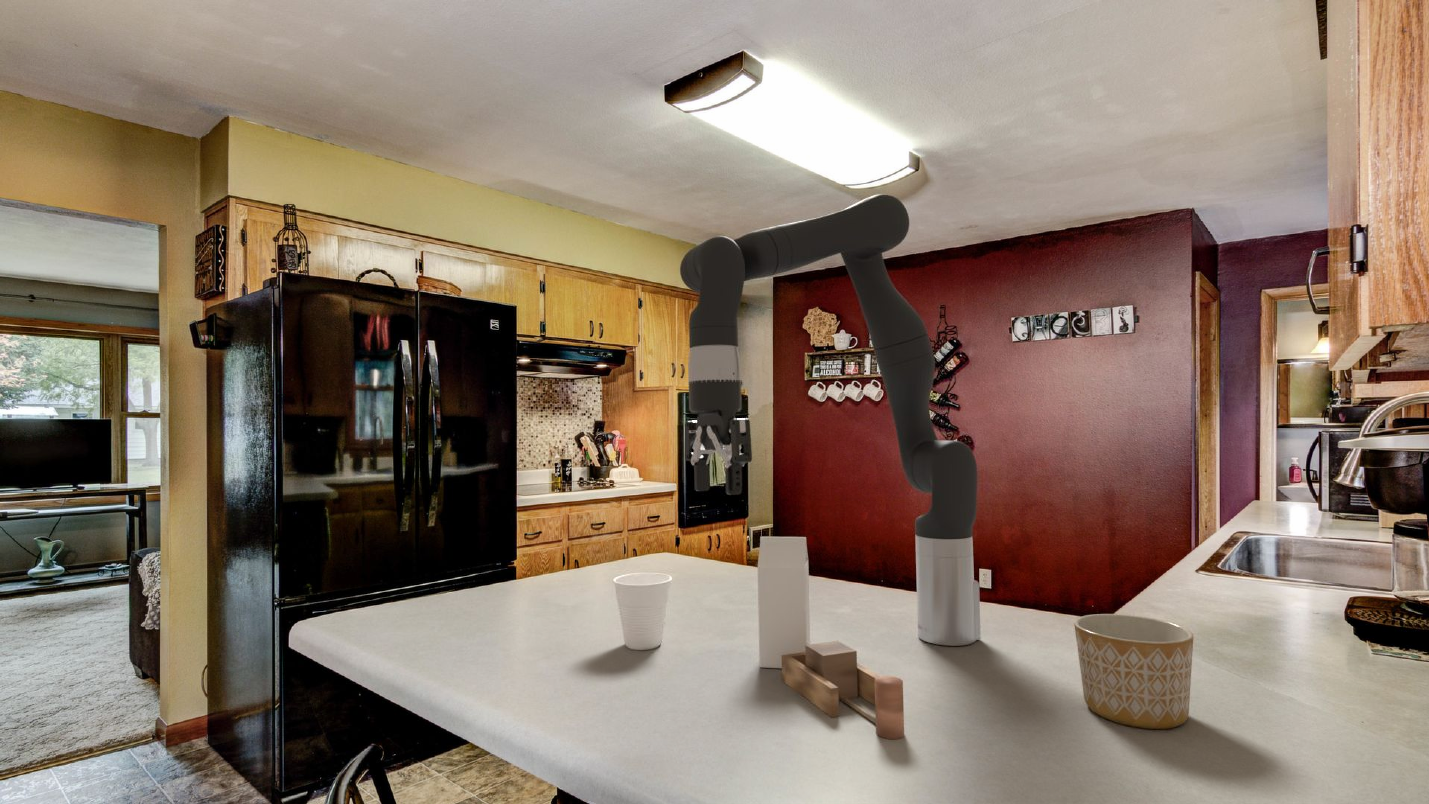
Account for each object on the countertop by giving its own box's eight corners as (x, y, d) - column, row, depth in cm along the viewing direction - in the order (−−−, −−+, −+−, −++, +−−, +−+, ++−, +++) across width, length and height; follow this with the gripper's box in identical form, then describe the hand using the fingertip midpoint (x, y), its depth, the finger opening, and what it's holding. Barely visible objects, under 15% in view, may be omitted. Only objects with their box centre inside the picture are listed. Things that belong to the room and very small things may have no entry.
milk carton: (807, 670, 103) (804, 540, 104) (759, 668, 104) (756, 540, 105) (810, 655, 110) (807, 533, 111) (765, 653, 111) (763, 533, 112)
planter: (1200, 744, 77) (1196, 648, 78) (1072, 720, 84) (1069, 632, 84) (1194, 705, 88) (1190, 621, 88) (1081, 687, 95) (1078, 609, 95)
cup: (602, 650, 114) (601, 582, 115) (631, 633, 123) (630, 571, 124) (656, 657, 110) (655, 586, 111) (682, 639, 120) (681, 574, 120)
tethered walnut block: (806, 689, 95) (805, 644, 96) (838, 684, 97) (837, 640, 97) (879, 742, 79) (878, 688, 79) (916, 734, 81) (915, 682, 81)
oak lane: (781, 680, 99) (781, 655, 99) (831, 672, 102) (831, 648, 102) (831, 717, 86) (831, 688, 86) (887, 707, 89) (886, 679, 89)
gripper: (765, 376, 96) (768, 494, 96) (711, 383, 108) (713, 488, 108) (718, 374, 92) (721, 498, 92) (668, 382, 105) (670, 491, 104)
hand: (717, 492), depth 100 cm, fingers open, 8 cm apart
